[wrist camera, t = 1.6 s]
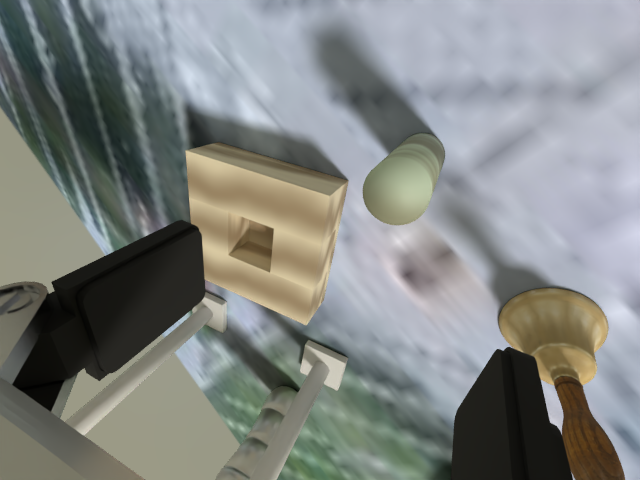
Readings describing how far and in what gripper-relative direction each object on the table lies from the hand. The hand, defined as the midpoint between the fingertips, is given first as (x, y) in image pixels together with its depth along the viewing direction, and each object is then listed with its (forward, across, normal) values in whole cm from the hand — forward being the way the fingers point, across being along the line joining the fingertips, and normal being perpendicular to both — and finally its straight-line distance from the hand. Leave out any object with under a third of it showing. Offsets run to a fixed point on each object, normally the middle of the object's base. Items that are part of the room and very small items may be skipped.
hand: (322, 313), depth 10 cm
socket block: (+22, +14, +12) cm, 29 cm away
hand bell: (+22, -16, +12) cm, 30 cm away
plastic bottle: (+22, +9, +42) cm, 48 cm away
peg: (+22, 0, 0) cm, 22 cm away
